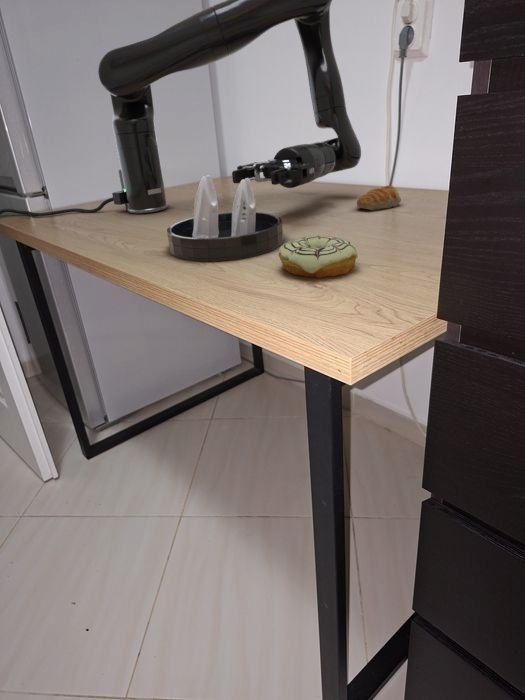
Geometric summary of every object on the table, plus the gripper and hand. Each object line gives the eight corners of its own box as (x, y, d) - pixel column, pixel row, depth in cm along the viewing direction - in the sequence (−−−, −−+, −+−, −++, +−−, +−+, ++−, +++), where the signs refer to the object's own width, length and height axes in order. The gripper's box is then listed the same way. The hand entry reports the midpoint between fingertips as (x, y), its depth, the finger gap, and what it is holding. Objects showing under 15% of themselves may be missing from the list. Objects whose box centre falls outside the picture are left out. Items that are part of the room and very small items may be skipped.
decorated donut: (313, 286, 63) (312, 258, 62) (265, 269, 72) (263, 243, 70) (371, 267, 68) (372, 240, 67) (321, 253, 77) (320, 228, 75)
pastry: (373, 213, 99) (374, 193, 97) (348, 209, 103) (348, 190, 102) (403, 204, 104) (404, 185, 102) (377, 202, 108) (378, 183, 107)
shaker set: (195, 250, 82) (185, 180, 77) (188, 244, 85) (178, 177, 80) (262, 238, 86) (257, 170, 81) (253, 233, 89) (247, 168, 84)
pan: (146, 254, 84) (142, 233, 82) (218, 227, 98) (216, 209, 96) (238, 267, 73) (235, 243, 72) (304, 235, 87) (303, 215, 86)
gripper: (269, 145, 102) (219, 155, 90) (331, 144, 94) (285, 155, 83) (271, 183, 105) (223, 198, 94) (331, 185, 98) (287, 201, 86)
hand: (252, 178), depth 88 cm, fingers open, 8 cm apart
